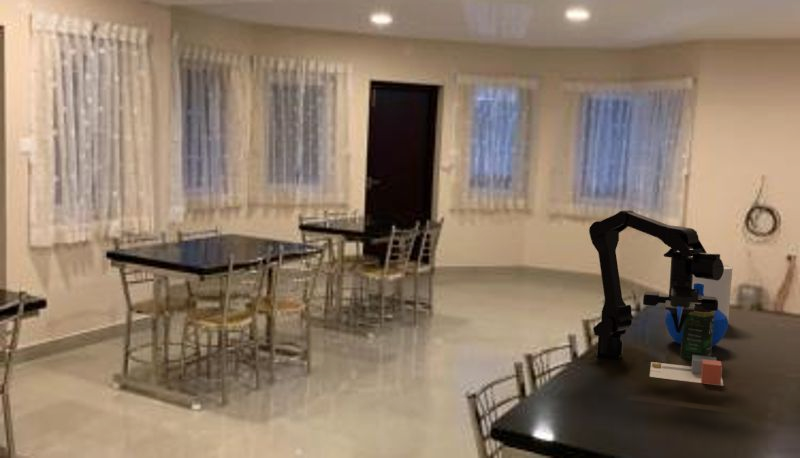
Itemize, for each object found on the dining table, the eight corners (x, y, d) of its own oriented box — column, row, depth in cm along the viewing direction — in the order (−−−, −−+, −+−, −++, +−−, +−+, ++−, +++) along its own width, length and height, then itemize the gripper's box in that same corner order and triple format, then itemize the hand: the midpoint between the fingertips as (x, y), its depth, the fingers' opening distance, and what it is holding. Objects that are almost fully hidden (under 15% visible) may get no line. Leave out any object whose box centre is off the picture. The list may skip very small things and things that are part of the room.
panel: (649, 380, 207) (650, 369, 206) (651, 365, 221) (651, 355, 220) (723, 389, 201) (724, 377, 201) (720, 373, 215) (721, 362, 215)
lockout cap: (701, 382, 203) (702, 363, 202) (700, 377, 207) (702, 359, 206) (720, 384, 201) (721, 365, 201) (719, 380, 205) (720, 361, 205)
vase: (661, 347, 241) (665, 286, 238) (665, 334, 257) (669, 277, 255) (726, 355, 234) (731, 292, 232) (726, 341, 251) (730, 282, 248)
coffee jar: (705, 365, 222) (710, 301, 220) (676, 360, 227) (681, 297, 225) (714, 358, 230) (719, 296, 228) (686, 353, 235) (691, 292, 233)
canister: (734, 326, 272) (738, 269, 270) (695, 325, 272) (699, 268, 270) (719, 318, 285) (723, 263, 283) (681, 316, 285) (685, 262, 283)
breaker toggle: (691, 373, 211) (692, 360, 210) (691, 367, 216) (692, 354, 216) (715, 375, 209) (717, 363, 208) (714, 369, 214) (715, 357, 214)
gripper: (643, 277, 206) (640, 335, 208) (720, 282, 200) (716, 342, 202) (645, 271, 217) (642, 326, 218) (718, 276, 211) (714, 333, 212)
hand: (678, 332), depth 212 cm, fingers closed
